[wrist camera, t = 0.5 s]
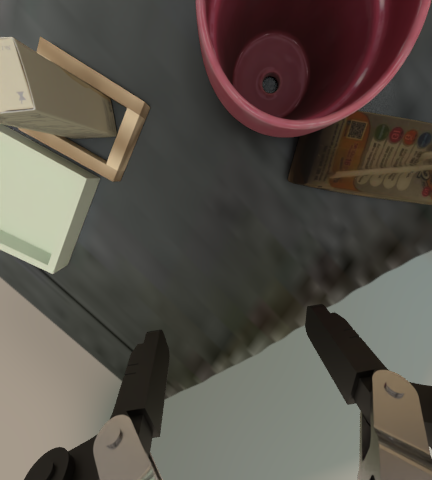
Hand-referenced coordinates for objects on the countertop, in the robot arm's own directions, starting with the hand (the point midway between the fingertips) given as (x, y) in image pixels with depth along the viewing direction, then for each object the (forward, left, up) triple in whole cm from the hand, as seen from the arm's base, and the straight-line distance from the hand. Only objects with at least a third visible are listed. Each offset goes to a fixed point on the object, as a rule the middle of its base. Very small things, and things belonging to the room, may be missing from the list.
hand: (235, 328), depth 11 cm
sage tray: (+10, -26, -19) cm, 34 cm away
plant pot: (-18, -5, -20) cm, 27 cm away
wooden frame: (-4, -22, -19) cm, 30 cm away
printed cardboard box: (-17, +11, -20) cm, 28 cm away
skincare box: (-4, -22, -20) cm, 30 cm away
